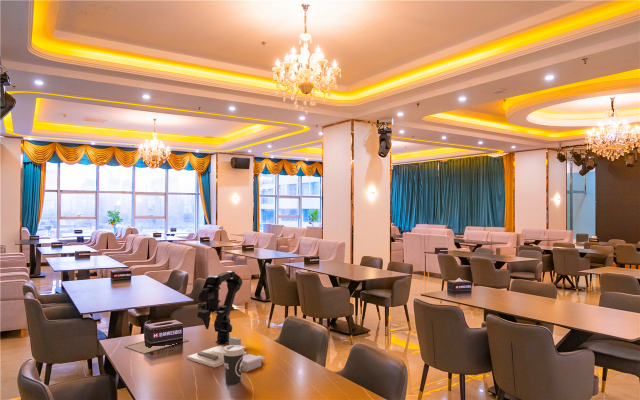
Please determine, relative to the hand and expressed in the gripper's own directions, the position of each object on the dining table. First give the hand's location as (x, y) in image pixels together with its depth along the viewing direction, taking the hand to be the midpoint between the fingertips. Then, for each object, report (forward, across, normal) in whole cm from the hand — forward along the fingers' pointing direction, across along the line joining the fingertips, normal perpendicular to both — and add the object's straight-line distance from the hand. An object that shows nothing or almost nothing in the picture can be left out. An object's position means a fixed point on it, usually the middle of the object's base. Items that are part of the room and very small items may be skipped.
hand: (213, 327), depth 235 cm
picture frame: (+12, +10, -32) cm, 36 cm away
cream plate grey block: (+10, -3, +13) cm, 16 cm away
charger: (+12, +9, +35) cm, 38 cm away
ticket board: (+12, +9, +12) cm, 19 cm away
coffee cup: (+12, +29, +40) cm, 51 cm away
